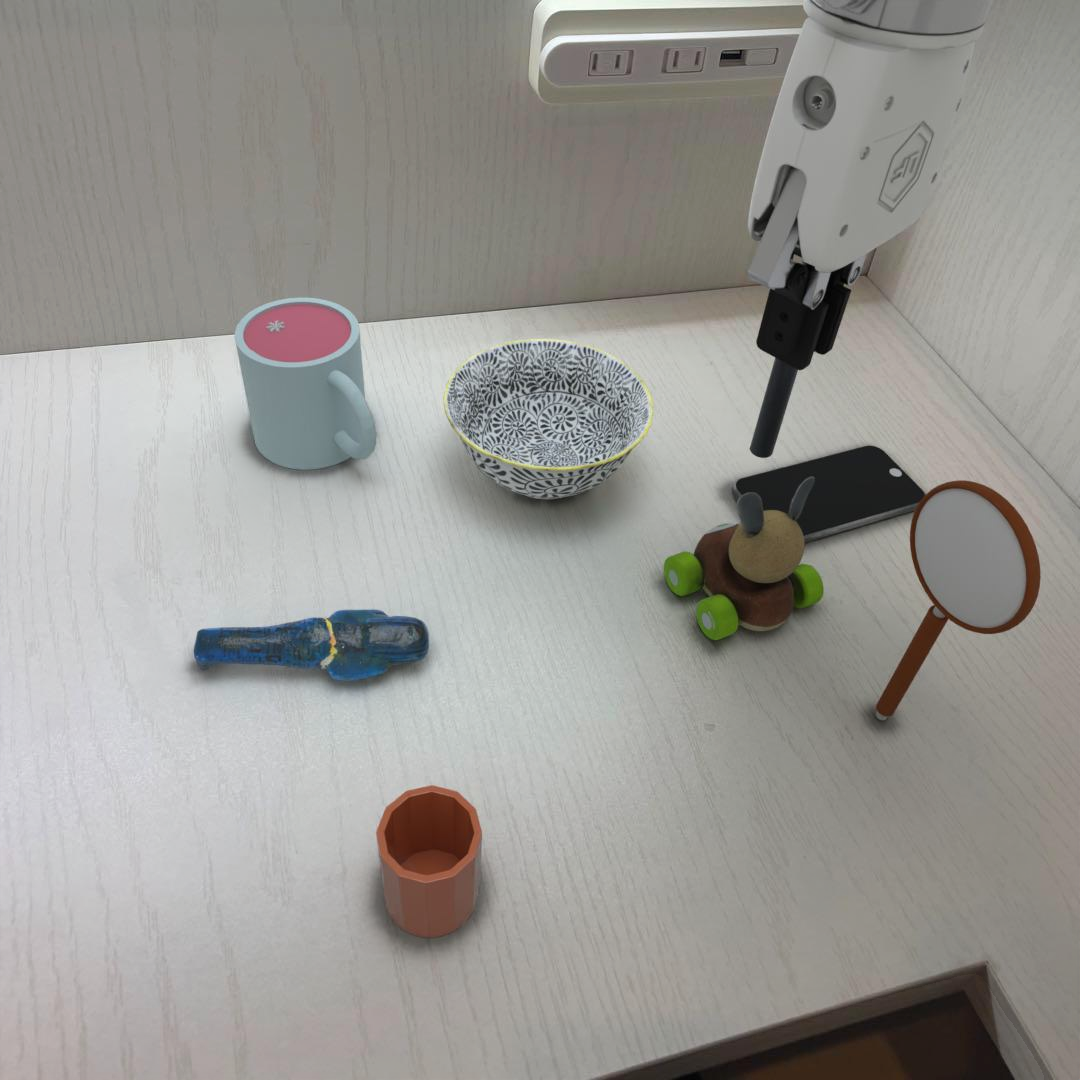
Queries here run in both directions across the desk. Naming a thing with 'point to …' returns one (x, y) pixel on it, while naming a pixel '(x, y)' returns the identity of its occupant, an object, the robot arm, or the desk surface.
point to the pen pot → (430, 860)
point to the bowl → (547, 415)
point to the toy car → (749, 569)
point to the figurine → (320, 644)
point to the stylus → (773, 406)
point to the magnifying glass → (966, 571)
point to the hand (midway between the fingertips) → (793, 348)
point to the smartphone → (837, 490)
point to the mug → (305, 383)
